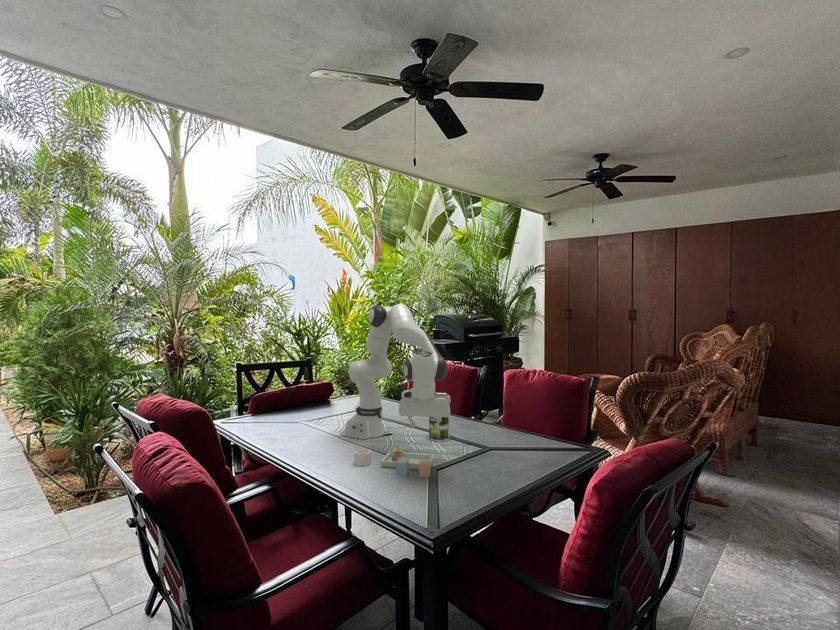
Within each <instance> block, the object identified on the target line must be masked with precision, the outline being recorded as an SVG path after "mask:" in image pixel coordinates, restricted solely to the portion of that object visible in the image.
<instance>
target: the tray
mask: <svg viewBox="0 0 840 630" xmlns="http://www.w3.org/2000/svg"><path fill="white" fill-rule="evenodd" d="M404 459H409V461H408V471H419V462H420V461H421V460H423V461H431V467H432V466H433V464H434V462H435V454H427V453H425V454H424V453H413V452H404ZM380 468H385V469H396V462H395V461H392V451H388V452H387V454H385V456H384V457H383V458H382V459H381V461H380Z"/></svg>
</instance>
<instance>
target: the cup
mask: <svg viewBox="0 0 840 630" xmlns="http://www.w3.org/2000/svg"><path fill="white" fill-rule="evenodd" d="M353 453H354V454H353V457H354V458H353V459H354V462H353V463H354V465H355V466H356V467H366V466H370V465H371V464H372V450H370V449H369V448H360V449H355V451H354V452H353Z"/></svg>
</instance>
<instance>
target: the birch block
mask: <svg viewBox="0 0 840 630" xmlns="http://www.w3.org/2000/svg"><path fill="white" fill-rule="evenodd" d="M391 452H392V461H395V462H397V461H398V459H404V453H405V452H404V448H396V447H395V448H393V450H391Z"/></svg>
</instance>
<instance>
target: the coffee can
mask: <svg viewBox="0 0 840 630" xmlns="http://www.w3.org/2000/svg"><path fill="white" fill-rule="evenodd" d="M428 418H429V419H428V424H429V425H428V439H429V440H430V441H433V442H446V441H449V440H450V415H449V416H448V417H441V420H440V422H439V428H434V427H435V426H434V424H435V423H437V422H438V420H437V417H428Z"/></svg>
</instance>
